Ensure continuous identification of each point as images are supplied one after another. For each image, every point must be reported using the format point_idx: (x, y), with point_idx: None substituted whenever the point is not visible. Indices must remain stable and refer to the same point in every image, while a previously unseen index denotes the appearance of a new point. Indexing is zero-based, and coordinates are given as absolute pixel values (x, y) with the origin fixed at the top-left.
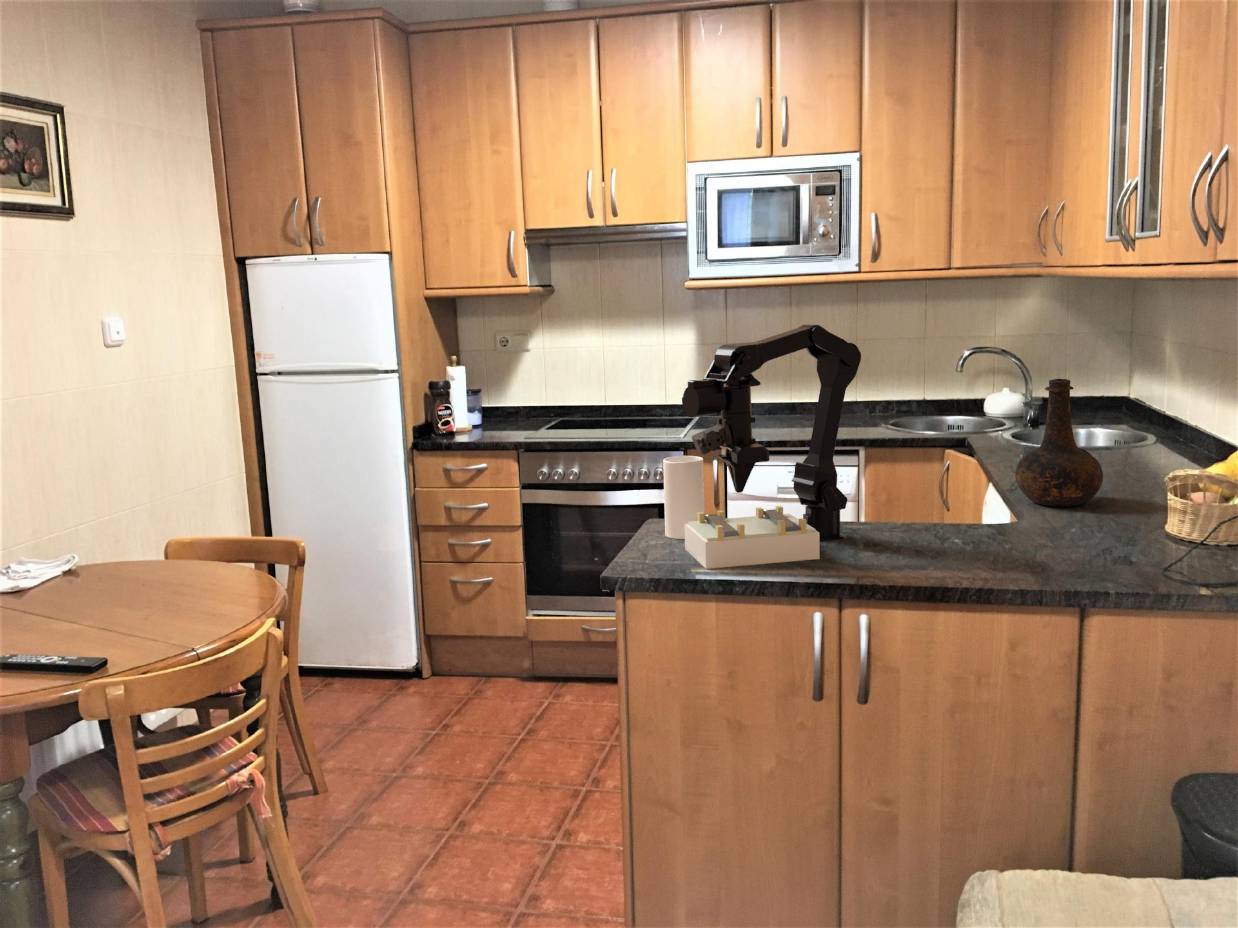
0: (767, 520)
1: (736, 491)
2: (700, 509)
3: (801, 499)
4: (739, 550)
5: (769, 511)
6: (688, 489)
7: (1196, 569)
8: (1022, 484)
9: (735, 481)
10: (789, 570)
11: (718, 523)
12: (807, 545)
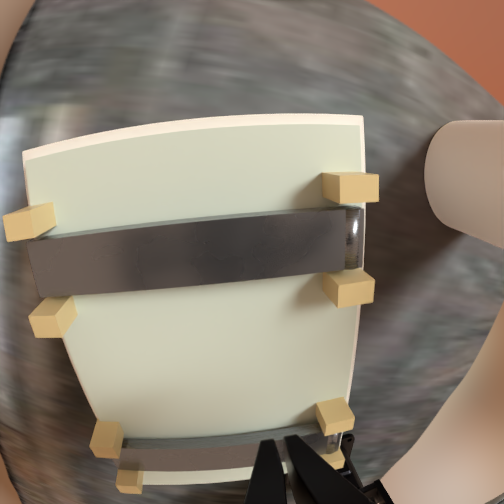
0: (272, 422)
1: (271, 440)
2: (489, 230)
3: (378, 490)
4: None
5: (319, 441)
6: None
7: None
8: None
9: (249, 499)
10: (46, 360)
11: (171, 243)
12: None
